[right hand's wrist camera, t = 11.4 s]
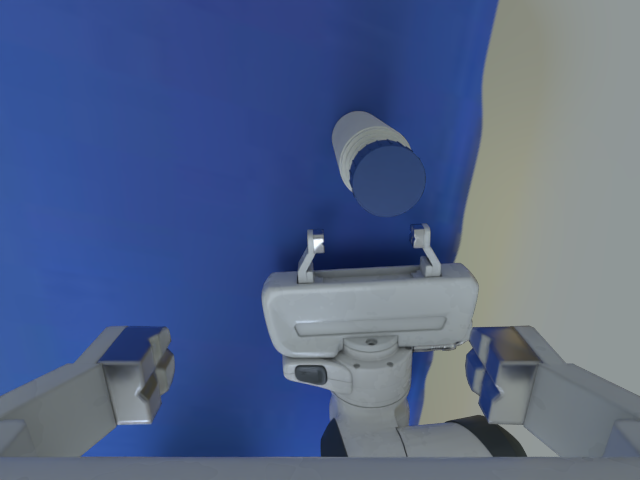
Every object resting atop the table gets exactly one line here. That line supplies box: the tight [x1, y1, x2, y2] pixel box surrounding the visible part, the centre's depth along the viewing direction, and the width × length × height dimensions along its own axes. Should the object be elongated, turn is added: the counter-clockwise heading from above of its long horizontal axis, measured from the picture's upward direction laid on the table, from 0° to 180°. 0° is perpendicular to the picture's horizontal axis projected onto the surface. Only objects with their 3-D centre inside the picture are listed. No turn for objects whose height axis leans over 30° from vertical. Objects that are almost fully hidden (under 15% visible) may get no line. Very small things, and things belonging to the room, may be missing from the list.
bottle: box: [332, 111, 411, 191], centre depth 30 cm, size 5×5×17 cm
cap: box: [349, 139, 426, 217], centre depth 23 cm, size 4×4×2 cm
